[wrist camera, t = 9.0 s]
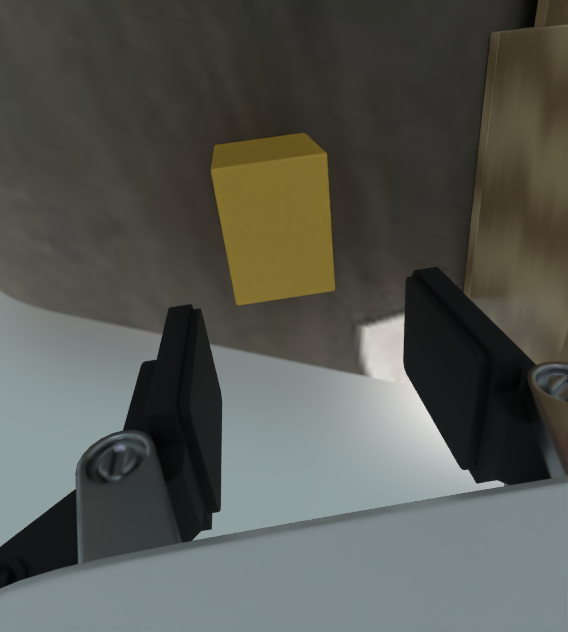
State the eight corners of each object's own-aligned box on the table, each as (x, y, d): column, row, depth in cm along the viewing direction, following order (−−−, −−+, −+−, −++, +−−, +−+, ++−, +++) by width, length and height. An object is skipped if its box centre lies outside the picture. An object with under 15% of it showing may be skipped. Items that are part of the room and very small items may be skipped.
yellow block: (213, 144, 21) (210, 168, 17) (305, 132, 22) (327, 152, 17) (234, 258, 25) (236, 306, 20) (314, 246, 25) (335, 291, 20)
